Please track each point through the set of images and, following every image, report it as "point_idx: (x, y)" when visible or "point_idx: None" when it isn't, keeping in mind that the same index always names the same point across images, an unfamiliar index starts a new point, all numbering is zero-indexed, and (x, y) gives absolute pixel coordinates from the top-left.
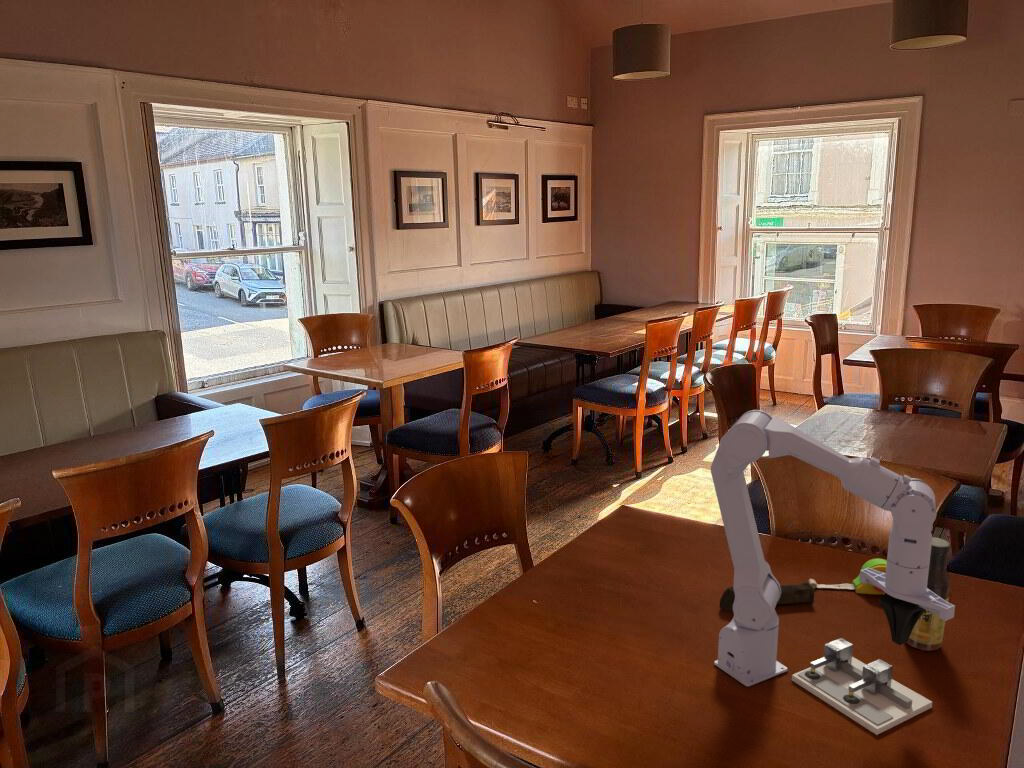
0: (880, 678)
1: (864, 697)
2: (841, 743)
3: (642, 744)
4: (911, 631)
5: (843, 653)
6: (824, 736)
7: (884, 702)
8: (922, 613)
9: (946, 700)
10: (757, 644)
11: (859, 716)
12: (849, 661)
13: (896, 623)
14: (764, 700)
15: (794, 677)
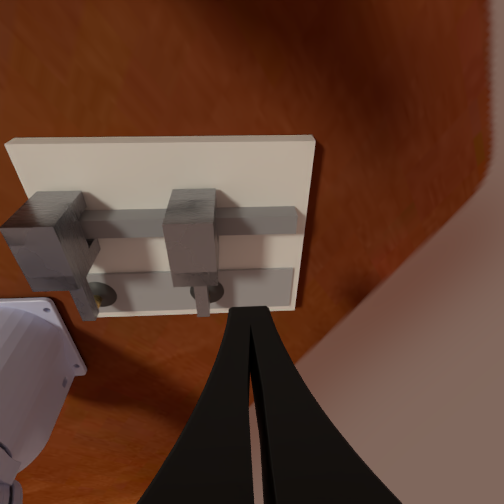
0: (217, 254)
1: None
2: None
3: (156, 469)
4: (281, 343)
5: (76, 253)
6: None
7: (247, 242)
8: (355, 458)
9: (320, 57)
10: (31, 429)
11: None
12: (79, 205)
13: (261, 455)
14: (130, 367)
15: None
